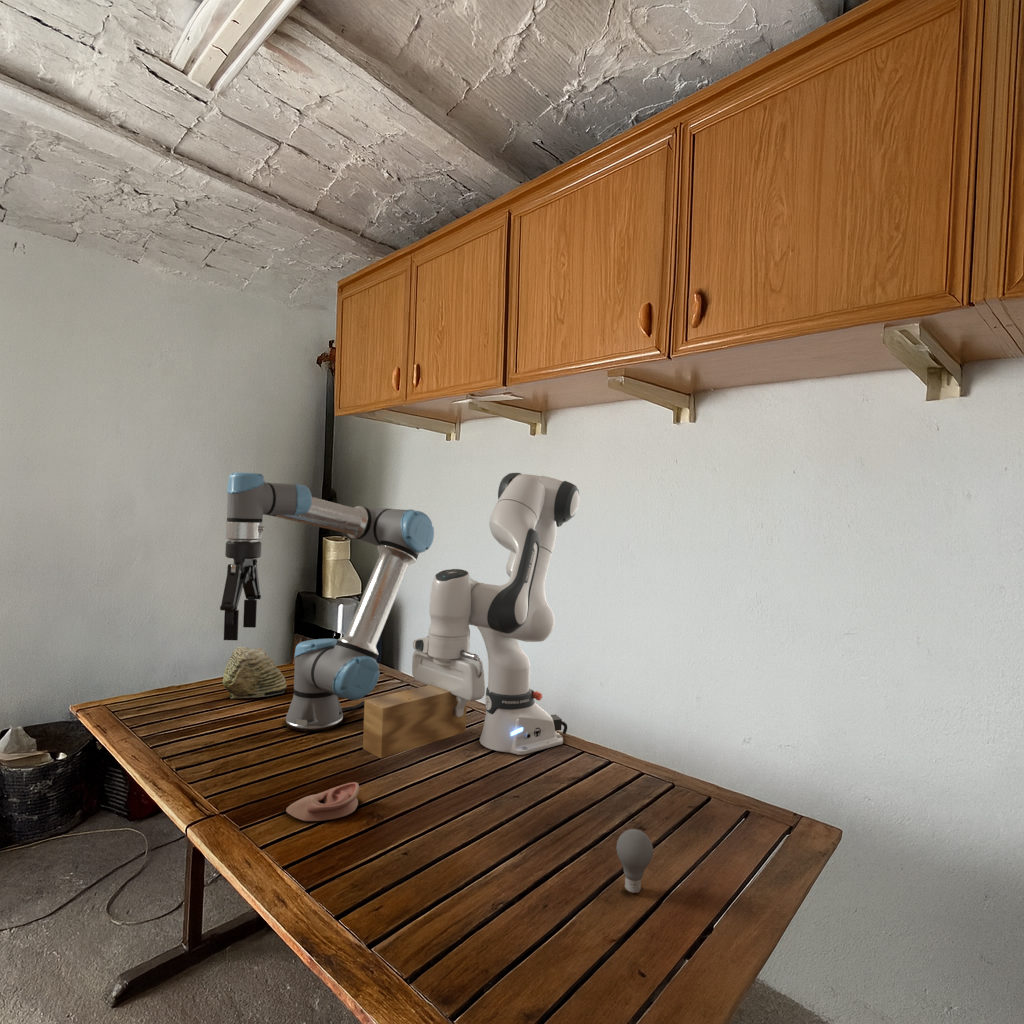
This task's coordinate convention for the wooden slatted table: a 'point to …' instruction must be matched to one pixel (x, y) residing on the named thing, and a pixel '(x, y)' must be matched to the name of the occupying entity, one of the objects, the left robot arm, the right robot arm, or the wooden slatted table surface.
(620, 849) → the light bulb
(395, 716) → the box
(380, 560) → the left robot arm
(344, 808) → the anatomical model
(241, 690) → the fossil
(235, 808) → the wooden slatted table surface
